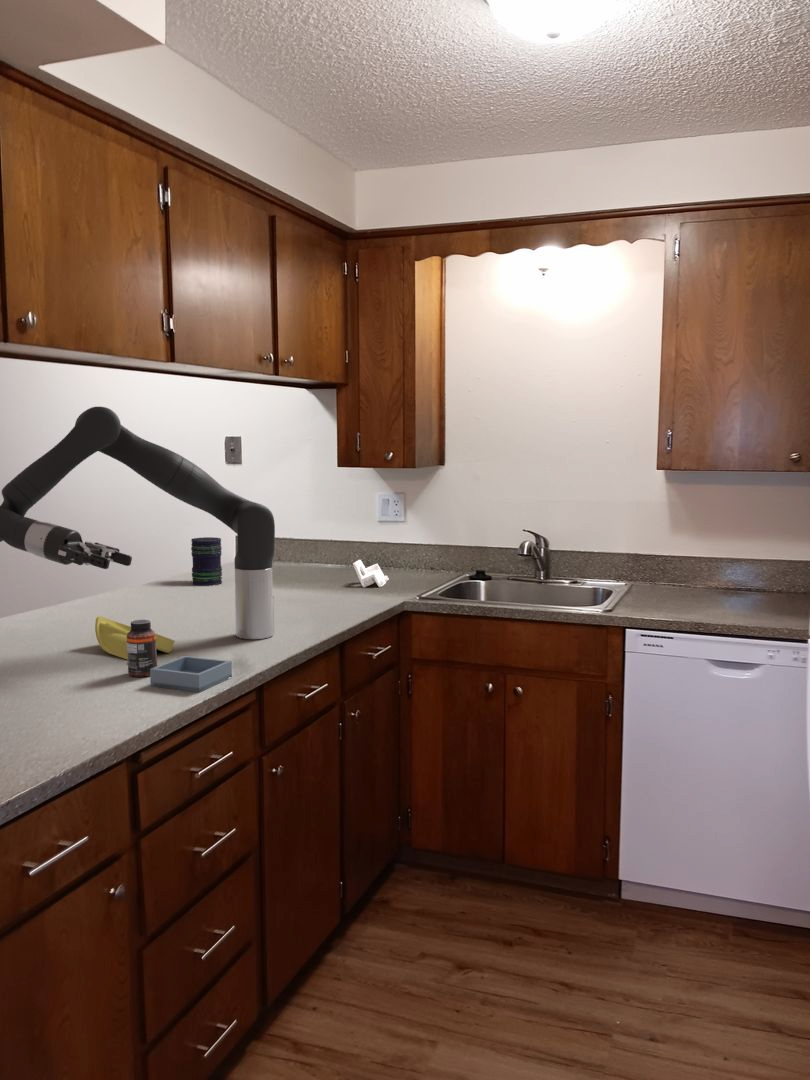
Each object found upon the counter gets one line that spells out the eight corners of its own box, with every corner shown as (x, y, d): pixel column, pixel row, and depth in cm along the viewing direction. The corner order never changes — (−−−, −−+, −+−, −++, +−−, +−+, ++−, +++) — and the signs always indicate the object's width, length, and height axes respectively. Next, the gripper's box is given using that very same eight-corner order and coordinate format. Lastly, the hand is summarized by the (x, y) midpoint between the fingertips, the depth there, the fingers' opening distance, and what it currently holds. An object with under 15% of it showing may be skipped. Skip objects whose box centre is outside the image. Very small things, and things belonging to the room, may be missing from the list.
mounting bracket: (373, 587, 309) (360, 558, 309) (389, 580, 308) (377, 551, 308) (365, 593, 298) (352, 563, 297) (383, 586, 296) (369, 556, 296)
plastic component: (179, 642, 211) (148, 630, 203) (167, 672, 209) (135, 662, 201) (124, 625, 222) (93, 613, 214) (113, 653, 220) (80, 643, 212)
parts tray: (184, 671, 193) (184, 655, 193) (231, 677, 189) (231, 661, 189) (150, 686, 183) (150, 668, 182) (199, 692, 178) (199, 674, 178)
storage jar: (186, 585, 300) (185, 540, 298) (199, 580, 310) (198, 536, 308) (214, 586, 298) (213, 541, 296) (227, 581, 308) (226, 537, 306)
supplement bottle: (148, 668, 196) (146, 617, 194) (162, 674, 192) (161, 621, 190) (122, 673, 192) (120, 621, 190) (136, 679, 187) (134, 625, 186)
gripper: (35, 526, 187) (104, 547, 183) (76, 524, 201) (141, 543, 197) (28, 561, 187) (96, 583, 184) (69, 557, 201) (133, 577, 198)
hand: (119, 562), depth 191 cm, fingers open, 8 cm apart
